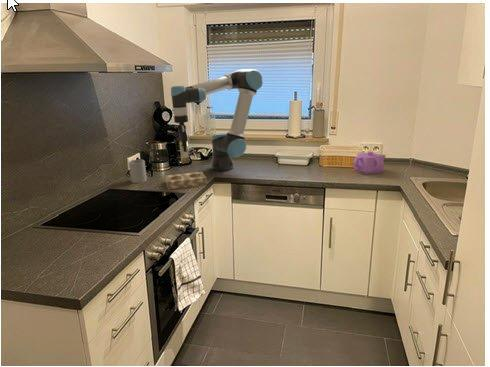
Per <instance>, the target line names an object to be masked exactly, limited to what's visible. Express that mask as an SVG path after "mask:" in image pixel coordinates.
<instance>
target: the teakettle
mask: <svg viewBox="0 0 490 367" xmlns="http://www.w3.org/2000/svg"><path fill="white" fill-rule="evenodd" d="M386 157H387V156H386V154H379V153H375V152H373V151H367V152H365V153H357V154H356V157H354V160H353V167H354V170H355V172H358V173H359V174H362V175H365V176H366V175H368V176H369V175H376V174H381V173H383V172H384V169H385V161H384V160H385V159H386Z"/></svg>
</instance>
